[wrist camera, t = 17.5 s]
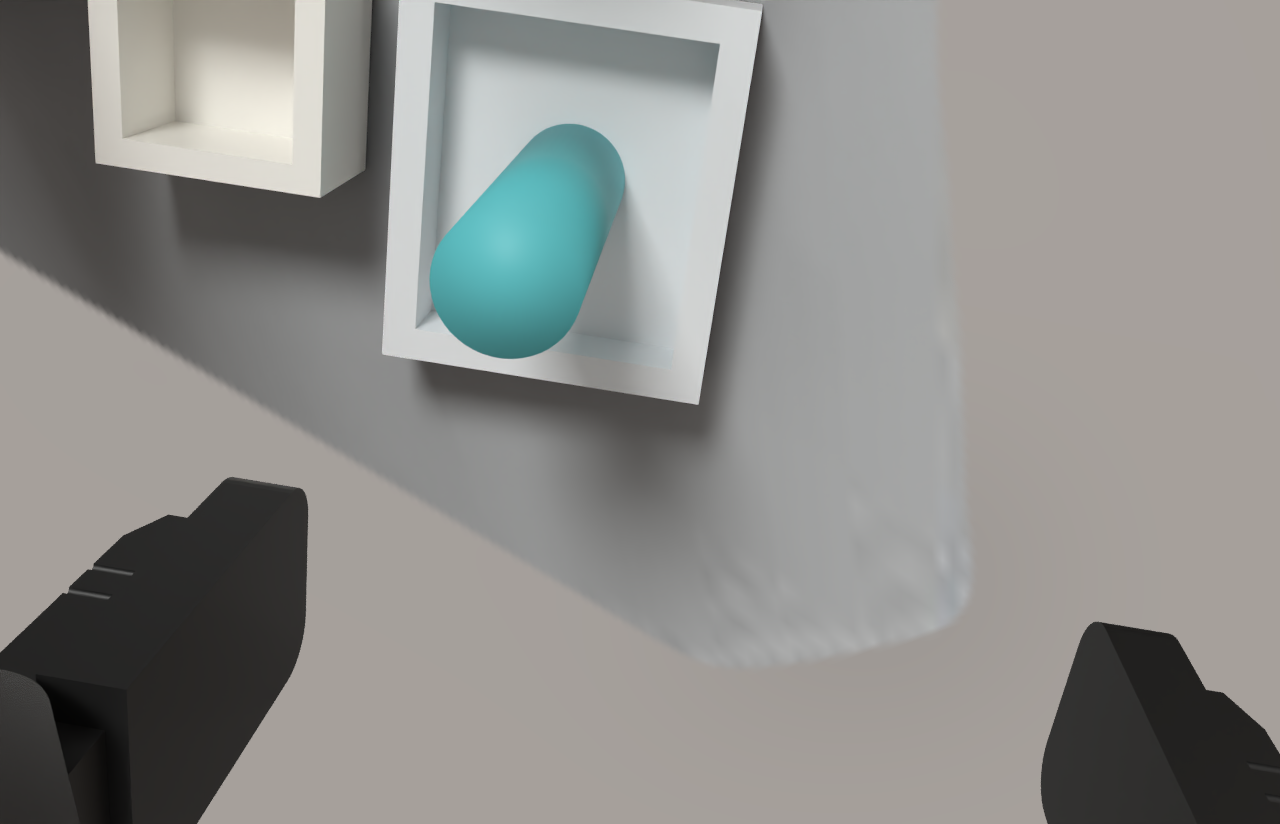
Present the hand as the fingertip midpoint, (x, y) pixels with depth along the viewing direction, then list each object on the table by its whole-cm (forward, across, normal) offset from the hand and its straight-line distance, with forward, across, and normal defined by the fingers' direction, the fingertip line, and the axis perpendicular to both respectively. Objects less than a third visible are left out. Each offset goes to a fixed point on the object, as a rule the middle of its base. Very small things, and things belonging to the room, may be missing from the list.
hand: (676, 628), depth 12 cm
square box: (+34, +18, 0) cm, 39 cm away
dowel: (+33, +6, +3) cm, 33 cm away
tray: (+34, +6, +3) cm, 35 cm away
